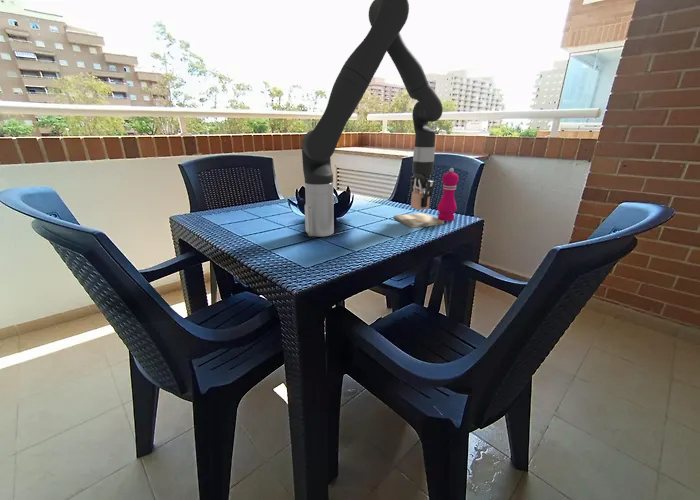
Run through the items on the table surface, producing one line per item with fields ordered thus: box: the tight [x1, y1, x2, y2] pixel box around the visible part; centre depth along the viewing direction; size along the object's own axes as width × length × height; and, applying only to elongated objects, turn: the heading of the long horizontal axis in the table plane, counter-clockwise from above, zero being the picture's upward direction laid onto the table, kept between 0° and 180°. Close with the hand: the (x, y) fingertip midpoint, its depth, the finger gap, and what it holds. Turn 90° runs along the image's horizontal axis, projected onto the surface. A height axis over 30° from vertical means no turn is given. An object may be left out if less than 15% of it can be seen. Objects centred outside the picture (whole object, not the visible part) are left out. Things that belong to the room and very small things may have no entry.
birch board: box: [393, 212, 445, 228], centre depth 124 cm, size 14×14×1 cm
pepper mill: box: [437, 167, 459, 222], centre depth 124 cm, size 7×7×20 cm
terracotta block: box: [410, 191, 431, 211], centre depth 121 cm, size 5×5×6 cm
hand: (419, 205), depth 122 cm, fingers closed on terracotta block, 5 cm apart
